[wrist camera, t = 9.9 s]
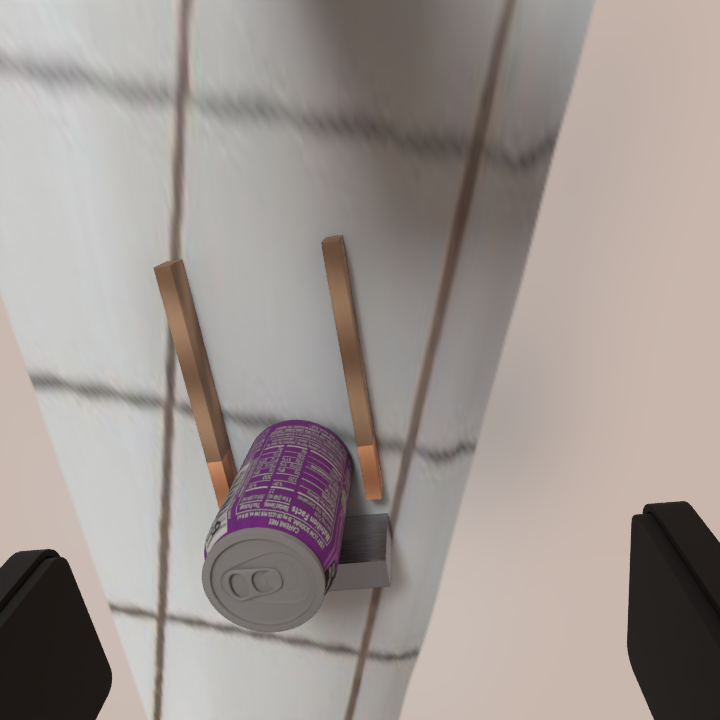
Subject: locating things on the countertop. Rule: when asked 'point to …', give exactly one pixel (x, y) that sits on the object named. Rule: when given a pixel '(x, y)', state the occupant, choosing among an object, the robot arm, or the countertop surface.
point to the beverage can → (279, 529)
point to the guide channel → (361, 533)
